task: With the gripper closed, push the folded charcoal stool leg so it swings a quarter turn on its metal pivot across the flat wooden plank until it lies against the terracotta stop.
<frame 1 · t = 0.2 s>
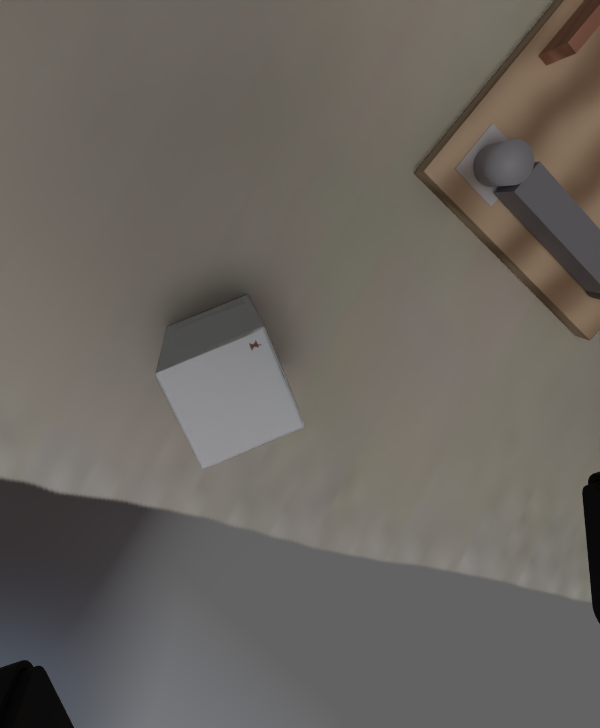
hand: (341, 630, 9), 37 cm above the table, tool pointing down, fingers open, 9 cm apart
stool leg: (560, 226, 43), point 4 cm above the table, hinge at 0.0°
supplement box: (223, 349, 45), on the table
flat wooden plank: (587, 158, 46), on the table
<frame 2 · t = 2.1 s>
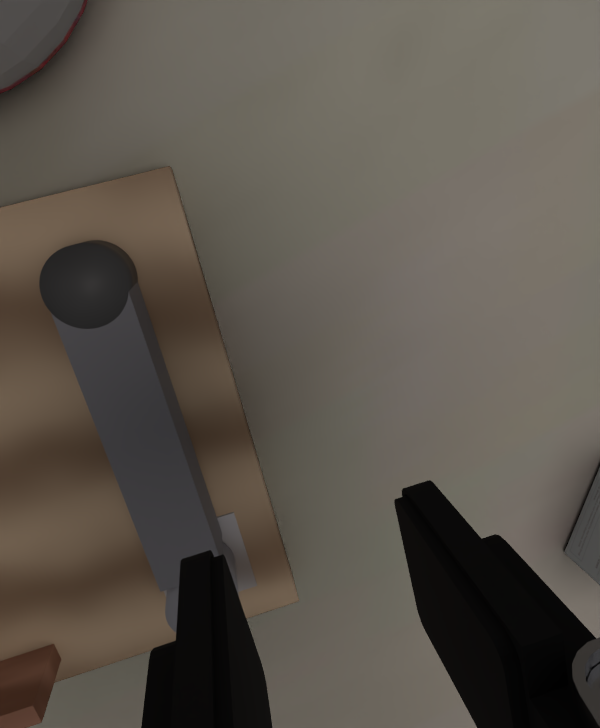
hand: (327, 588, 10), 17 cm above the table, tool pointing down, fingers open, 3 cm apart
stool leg: (153, 450, 23), point 4 cm above the table, hinge at 0.0°
flat wooden plank: (16, 463, 26), on the table
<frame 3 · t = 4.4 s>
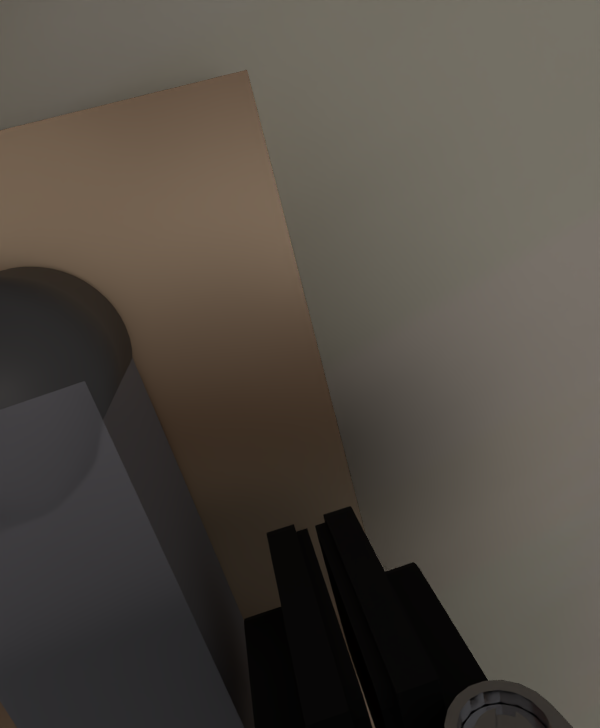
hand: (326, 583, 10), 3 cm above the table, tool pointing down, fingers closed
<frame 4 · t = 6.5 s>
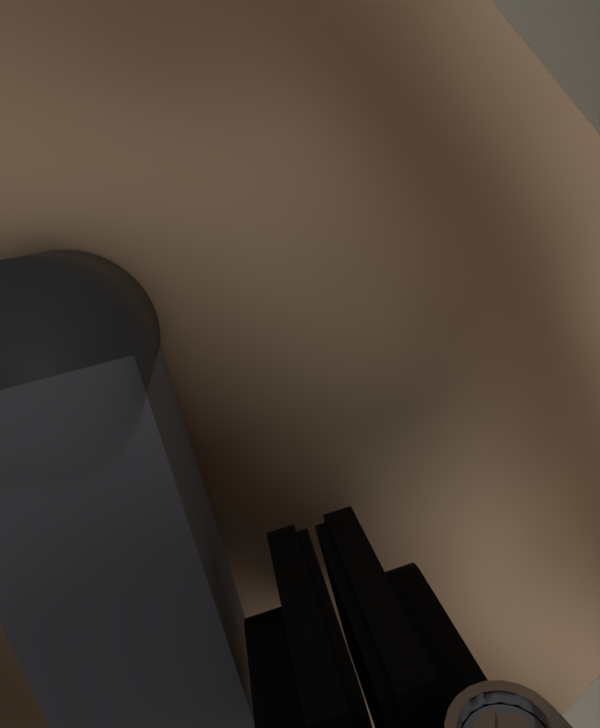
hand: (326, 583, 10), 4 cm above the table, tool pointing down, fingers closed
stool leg: (187, 720, 10), point 4 cm above the table, hinge at 53.6°, touching gripper
flat wooden plank: (218, 485, 13), on the table
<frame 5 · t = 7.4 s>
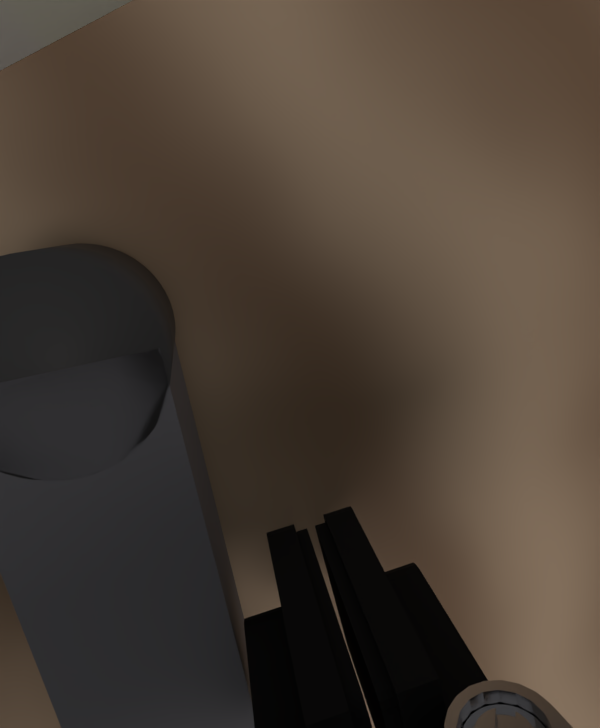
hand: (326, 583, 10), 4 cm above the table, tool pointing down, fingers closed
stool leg: (184, 712, 10), point 4 cm above the table, hinge at 72.1°, touching gripper
flat wooden plank: (342, 486, 14), on the table
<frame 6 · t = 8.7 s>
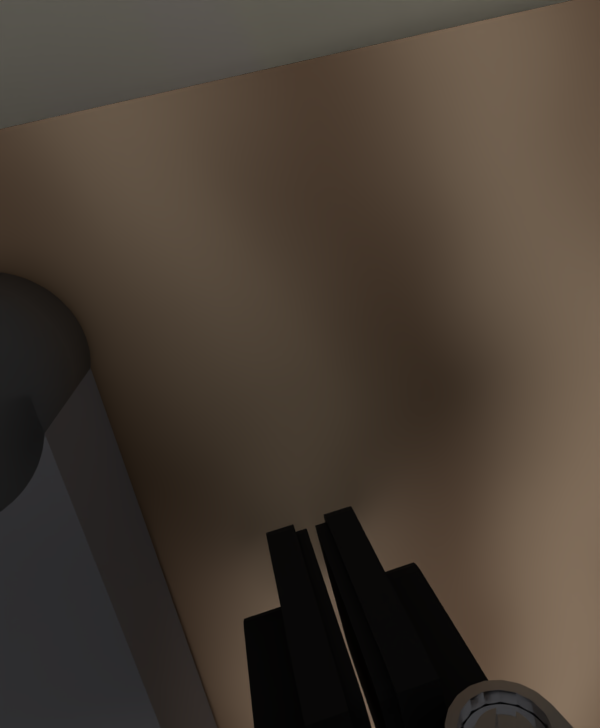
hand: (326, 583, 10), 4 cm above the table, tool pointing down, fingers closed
flat wooden plank: (396, 530, 14), on the table
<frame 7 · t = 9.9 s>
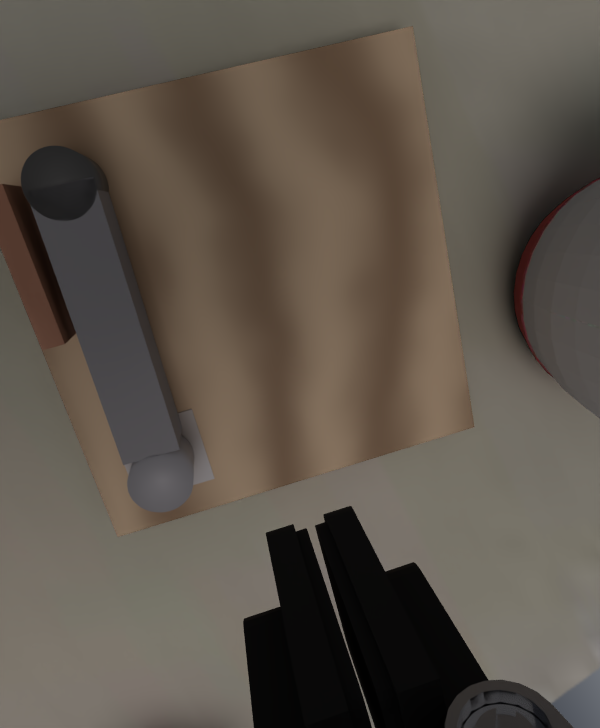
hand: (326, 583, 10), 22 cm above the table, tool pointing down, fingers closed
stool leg: (119, 340, 26), point 4 cm above the table, hinge at 88.8°
citrus juicer: (589, 269, 34), on the table
flat wooden plank: (250, 296, 31), on the table
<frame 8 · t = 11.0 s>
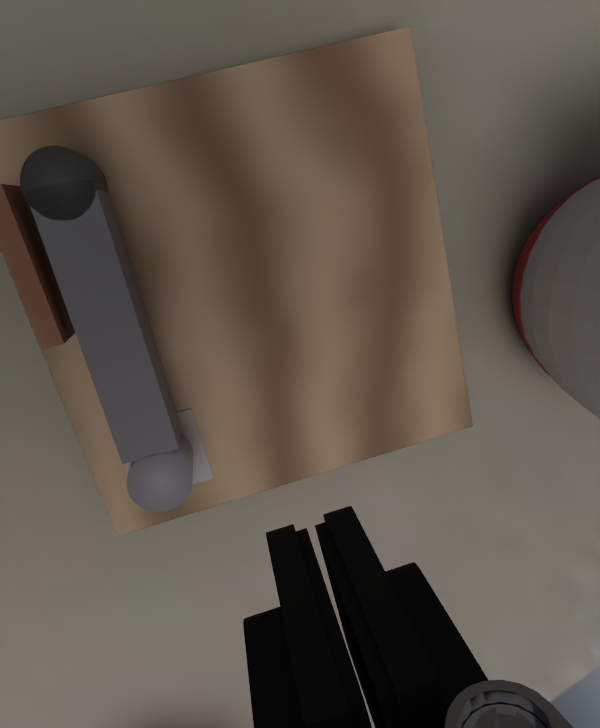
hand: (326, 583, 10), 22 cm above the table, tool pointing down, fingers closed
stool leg: (118, 340, 26), point 4 cm above the table, hinge at 88.8°
citrus juicer: (587, 268, 34), on the table
flat wooden plank: (249, 295, 31), on the table
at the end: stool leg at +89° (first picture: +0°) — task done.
